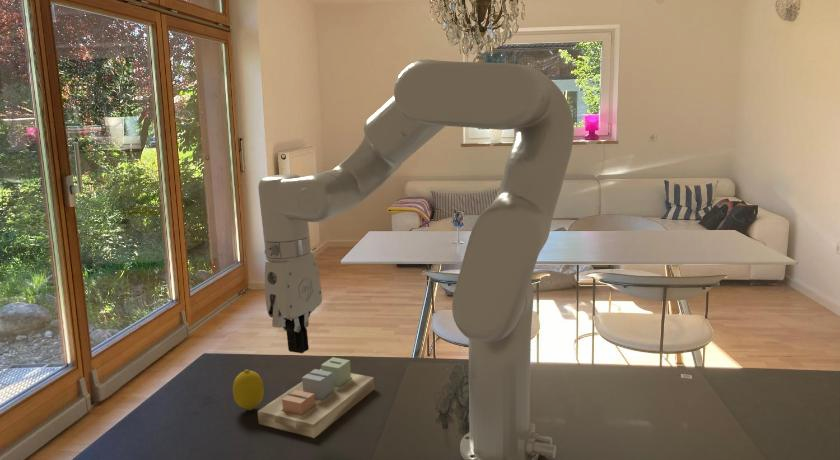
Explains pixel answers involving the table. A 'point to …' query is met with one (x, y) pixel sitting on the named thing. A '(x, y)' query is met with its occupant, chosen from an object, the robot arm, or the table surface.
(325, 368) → the key sage
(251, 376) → the lemon
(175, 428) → the table surface
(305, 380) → the key slate
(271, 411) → the keypad board
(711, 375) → the table surface
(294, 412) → the key terracotta
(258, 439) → the table surface
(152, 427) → the table surface
